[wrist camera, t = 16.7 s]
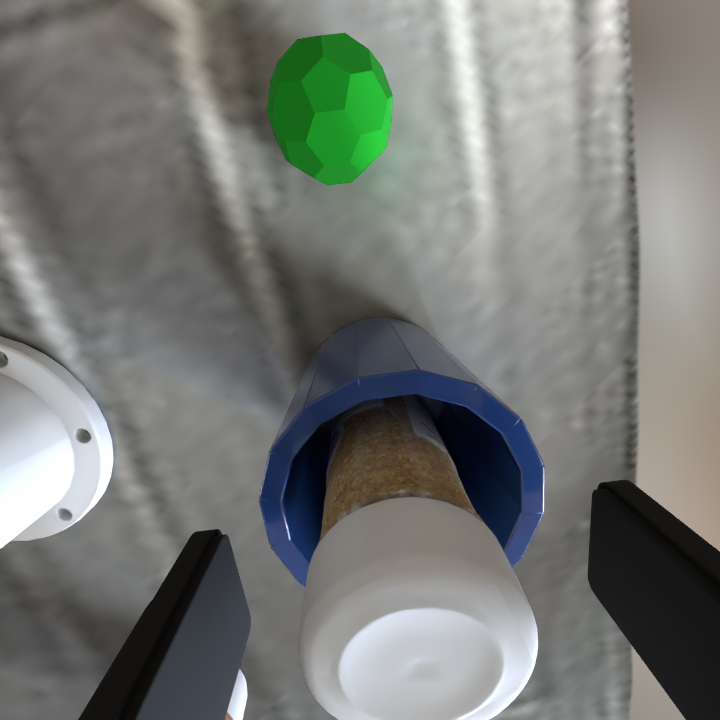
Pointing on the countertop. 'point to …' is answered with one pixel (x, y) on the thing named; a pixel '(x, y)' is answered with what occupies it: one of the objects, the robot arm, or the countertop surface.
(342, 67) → the polyhedron
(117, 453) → the countertop surface
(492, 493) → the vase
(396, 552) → the sprinkles bottle
